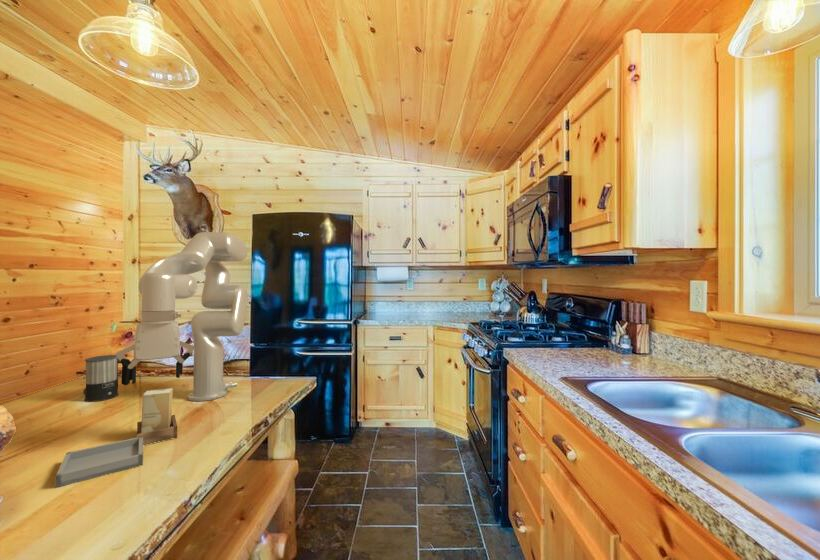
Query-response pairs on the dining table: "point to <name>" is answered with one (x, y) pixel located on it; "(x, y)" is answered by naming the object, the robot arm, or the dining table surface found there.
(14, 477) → the dining table surface
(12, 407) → the dining table surface
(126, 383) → the milk frother
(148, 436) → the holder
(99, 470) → the tray
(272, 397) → the dining table surface
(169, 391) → the skincare box
